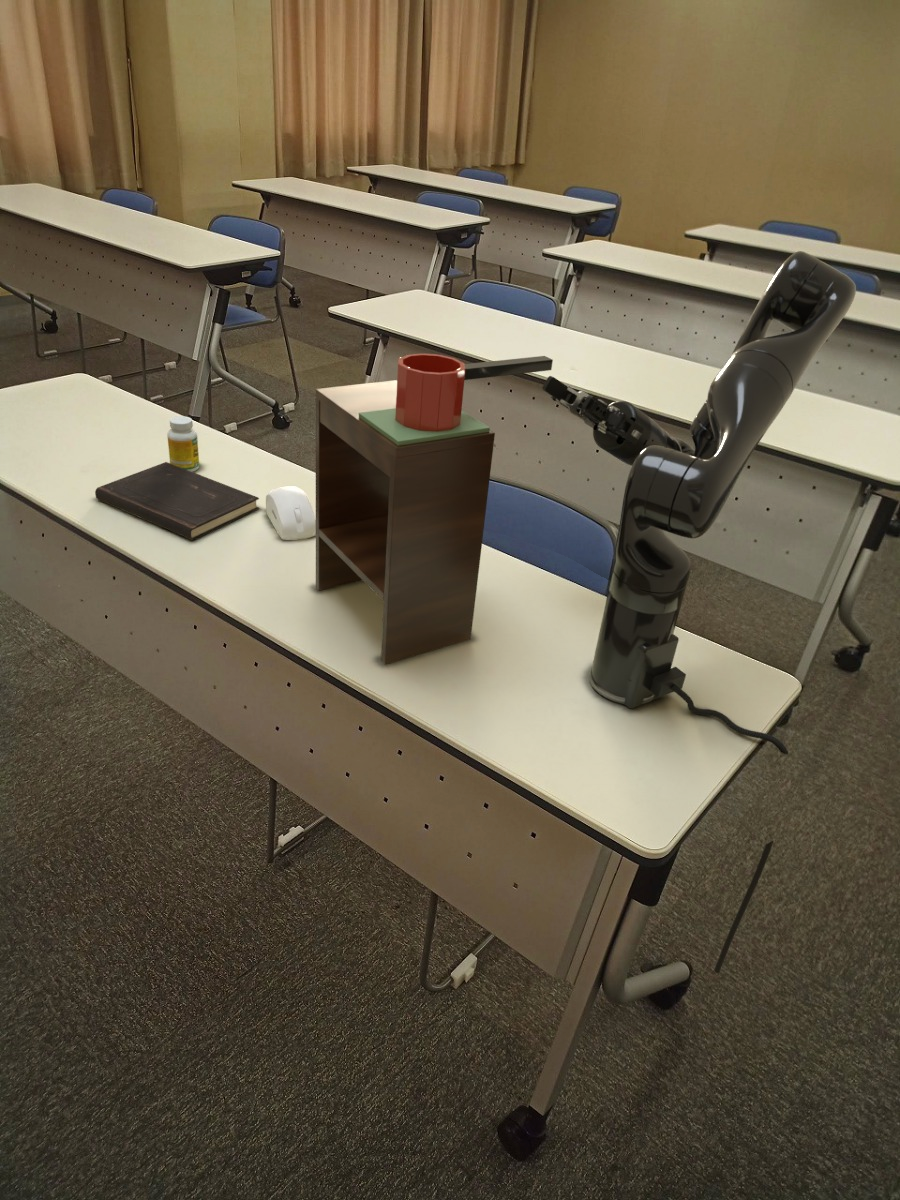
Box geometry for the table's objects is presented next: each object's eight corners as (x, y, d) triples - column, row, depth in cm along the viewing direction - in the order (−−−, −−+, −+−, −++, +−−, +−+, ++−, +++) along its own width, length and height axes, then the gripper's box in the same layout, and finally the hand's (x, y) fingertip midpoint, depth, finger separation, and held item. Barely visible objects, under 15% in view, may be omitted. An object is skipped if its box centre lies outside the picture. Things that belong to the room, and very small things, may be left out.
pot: (560, 413, 111) (569, 360, 107) (416, 434, 100) (420, 376, 96) (524, 394, 116) (531, 343, 113) (383, 412, 106) (386, 356, 102)
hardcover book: (167, 473, 159) (166, 461, 158) (259, 509, 150) (258, 497, 148) (95, 500, 147) (94, 488, 146) (191, 541, 138) (189, 529, 136)
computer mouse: (281, 543, 140) (280, 508, 137) (262, 509, 150) (261, 476, 146) (319, 538, 142) (319, 504, 139) (298, 505, 152) (298, 473, 149)
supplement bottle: (171, 462, 163) (166, 414, 158) (200, 462, 165) (196, 414, 159) (169, 473, 159) (164, 425, 154) (199, 473, 160) (195, 425, 155)
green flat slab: (489, 432, 105) (490, 427, 104) (398, 446, 98) (398, 441, 98) (446, 405, 111) (446, 401, 111) (358, 417, 105) (358, 412, 105)
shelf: (470, 639, 121) (495, 433, 104) (384, 664, 114) (396, 448, 98) (395, 568, 136) (406, 378, 120) (315, 587, 129) (315, 388, 113)
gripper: (612, 398, 130) (548, 352, 119) (678, 430, 120) (616, 383, 109) (586, 441, 132) (520, 400, 121) (650, 476, 122) (585, 434, 111)
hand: (566, 392), depth 115 cm, fingers open, 8 cm apart
